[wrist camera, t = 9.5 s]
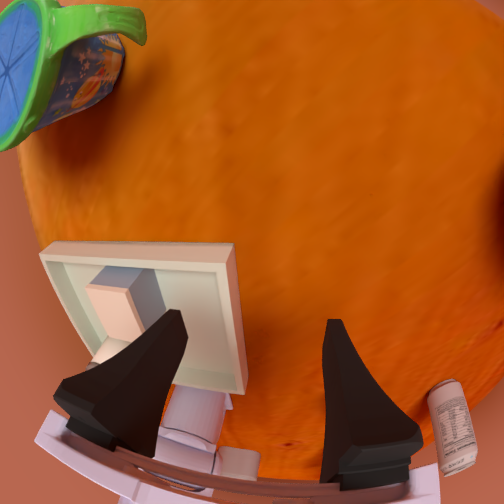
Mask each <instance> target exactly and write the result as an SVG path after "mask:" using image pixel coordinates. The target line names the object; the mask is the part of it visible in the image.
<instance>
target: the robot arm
mask: <svg viewBox="0 0 504 504" xmlns="http://www.w3.org/2000/svg"><path fill="white" fill-rule="evenodd" d="M188 338H189V337H188V334H187V330H186V327H185V324H184V321H183V317H182V314H181V311H180V310H176V309H169V310H168V311H167V312H165V313H164V314H163V315H162V316H161V317H160V318H159V319H158V320H157V321H156V322H155V323H154V324H153V325H151V326H150V327H149V328H148V329H147V330H146V331H145V332H144V333H143V334H141V335H140V336H139V337H138V338H137V339H135V340H134V341H133V342H132V343H131V344H129V345H128V346H127V347H126V348H124V349H123V350H121V351H120V352H119V353H117V354H116V355H114V356H113V357H111V358H109V359H108V360H106V361H104V362H102V363H101V364H99V365H97V366H95V367H93V368H91V369H89V370H87V371H85V372H82V373H80V374H77V375H75V376H72V377H69V378H66V379H63V381H62V382H61V384H60V385H59V387H58V389H57V390H56V392H55V394H54V395H53V397H54V400H55V401H56V402H57V404H58V405H59V406H60V407H61V408H63V409H64V410H65V411H66V412H67V413H68V414H69V415H70V418H69V420H68V419H67V418H65V417H64V416H62V415H60V414H59V413H57V412H55V411H54V410H50V412H49V414H48V416H47V417H46V419H45V421H44V423H43V425H42V427H41V428H40V431H39V432H38V435H37V436H36V438H35V440H34V441H35V443H37V444H38V445H39V446H41V447H42V448H43V449H45V450H46V451H47V452H49V453H50V454H52V455H53V456H54V457H56V458H57V459H59V460H60V461H62V462H63V463H65V464H66V465H68V466H69V467H71V468H72V469H74V470H75V471H77V472H78V473H80V474H82V475H83V476H85V477H87V478H89V479H90V480H92V481H94V482H96V483H97V484H99V485H101V486H103V487H105V488H107V489H109V490H111V491H113V492H115V493H117V494H119V495H121V496H120V499H119V502H118V504H245V503H238V502H232V501H227V500H222V499H217V498H212V493H213V490H214V489H216V490H221V491H227V492H233V493H241V494H247V495H257V496H267V497H268V496H269V497H284V498H310V499H275V500H273V504H441V503H440V486H439V474H438V465H437V463H436V462H435V463H432V464H428V465H424V466H420V467H416V468H414V469H411V470H409V468H408V465H409V464H411V457H410V456H412V455H413V454H415V453H416V452H417V451H419V450H420V449H421V448H422V447H423V437H422V433H421V430H420V427H419V425H418V424H417V423H415V422H414V421H413V420H412V419H411V418H409V417H408V416H407V415H406V414H405V413H404V412H403V411H402V410H401V409H400V408H399V407H398V406H397V405H396V404H395V403H394V402H393V401H392V400H391V399H390V398H389V397H388V396H387V395H386V393H385V392H384V391H383V390H382V389H381V387H380V386H379V385H378V384H377V382H376V381H375V379H374V378H373V377H372V375H371V374H370V372H369V371H368V369H367V368H366V366H365V365H364V363H363V361H362V360H361V358H360V356H359V355H358V353H357V351H356V349H355V347H354V345H353V343H352V342H351V340H350V337H349V335H348V333H347V331H346V329H345V326H344V324H343V322H342V320H341V319H328V320H327V326H326V331H325V337H324V342H323V348H322V368H323V378H324V389H325V401H326V422H325V439H324V450H323V460H322V468H321V475H320V483H319V484H291V483H272V482H259V481H251V480H243V479H236V478H229V477H223V476H220V474H221V469H222V462H223V460H222V457H221V455H220V453H219V452H217V451H215V450H216V445H215V444H216V443H217V442H218V440H219V437H220V433H221V429H222V425H223V421H224V416H225V412H226V409H228V410H232V409H233V405H232V401H231V397H230V393H224V392H217V391H211V390H204V389H198V388H193V387H187V386H182V385H177V384H176V386H175V389H174V391H173V394H172V396H171V399H170V402H169V404H168V407H167V409H166V412H165V415H164V417H163V420H162V423H161V425H160V421H161V417H162V413H163V409H164V405H165V401H166V398H167V394H168V392H169V389H170V386H171V384H172V382H173V379H174V377H175V375H176V372H177V370H178V368H179V365H180V363H181V360H182V358H183V356H184V353H185V349H186V345H187V342H188ZM157 477H159V478H162V479H165V480H168V481H171V482H174V483H177V484H180V485H183V486H187V487H190V488H194V489H196V490H185V489H182V488H179V487H176V486H172V485H170V484H169V483H167V482H164V481H162V480H160V479H158V478H157Z"/></svg>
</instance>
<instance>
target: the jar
mask: <svg viewBox="0 0 504 504" xmlns="http://www.w3.org/2000/svg"><path fill="white" fill-rule="evenodd" d="M131 343H132V342H129V341H124V340H120V339H116V338H111V337H109V336H107V337H106V339H105V340H104V342H103V343H102V345H101V346H100V348H99V349H98V351H97V353H96V354H95V356H94V357H93V359H92V361H91V362H90V363H89V364H88V365H87V367H86V371H87V370H89V369H91V368H93V367H95V366H97V365H99V364H101V363H102V362H104V361H106V360H108V359H109V358H111V357H113V356H114V355H116V354H117V353H119V352H120V351H121V350H123V349H124V348H126V347H127V346H128V345H129V344H131Z"/></svg>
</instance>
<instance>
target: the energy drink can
mask: <svg viewBox="0 0 504 504" xmlns="http://www.w3.org/2000/svg"><path fill="white" fill-rule="evenodd" d="M427 402H428V407H429V411H430V416H431V421H432V426H433V431H434V437H435V443H436V450H437V457H438V464H439V469H440V470H441V471H442V472H443V473H444V477H446V476H449V475H452V474H455V473H457V472H459V471H462V470H464V469H466V468H468V467H470V466H471V465H473V464H475V463H476V462H475V458H476V455H477V452H478V450H477V444H476V439H475V435H474V430H473V426H472V422H471V418H470V414H469V410H468V407H467V403H466V400H465V397H464V393H463V390H462V387H461V384H460V383H459V382H456V380H455V379H449V380H446V381H443V382H441V383H439V384H437V385H436V386H435V387H433V388H432V389H431V390H430V392H429V396H428V398H427Z"/></svg>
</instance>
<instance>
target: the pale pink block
mask: <svg viewBox="0 0 504 504" xmlns="http://www.w3.org/2000/svg"><path fill="white" fill-rule="evenodd" d="M85 290H86V292H87V294H88V296H89V298H90V301H91V303H92V305H93V307H94V309H95V311H96V313H97V315H98V317H99V319H100V321H101V323H102V325H103V327H104V329H105V330H106V332H107V334H108V336H109V337H111V338H116V339H120V340H124V341H129V342H133V341H134V340H135V339H137V338H138V337H139V336H140V335H141V334H143V333H144V332H145V331H146V330H147V329H148V328H149V327H150V326H151V325H153V324H154V323H155V322H156V321H157V320H158V319H159V318H160V317H161V316H162V315H163V314H164V312H165V311H166V306H165V303H164V300H163V297H162V294H161V291H160V287H159V284H158V281H157V277H156V274H155V270H154V269H151V268H135V267H121V266H107V265H106V266H105V267H104V268H103V269H102V270H101V271H100V272H99V274H98V275H97V276H96V277H95V278H94V279H93V280H92V281H91V282H90V283H89V284H87V286H86V287H85Z"/></svg>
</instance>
